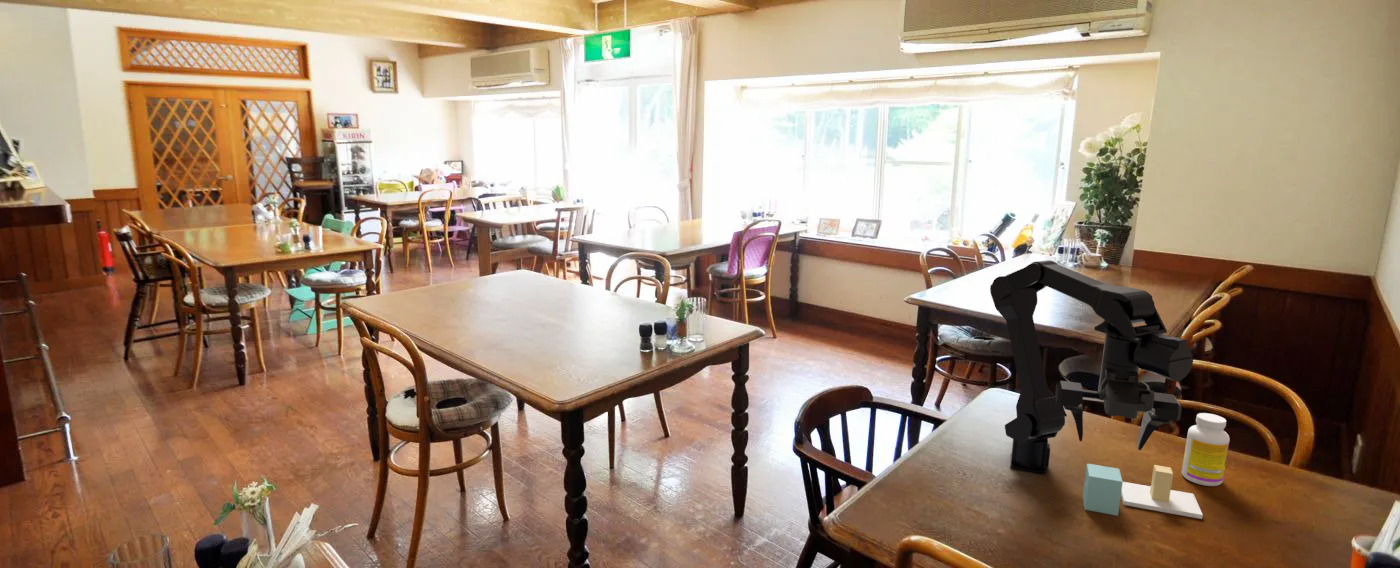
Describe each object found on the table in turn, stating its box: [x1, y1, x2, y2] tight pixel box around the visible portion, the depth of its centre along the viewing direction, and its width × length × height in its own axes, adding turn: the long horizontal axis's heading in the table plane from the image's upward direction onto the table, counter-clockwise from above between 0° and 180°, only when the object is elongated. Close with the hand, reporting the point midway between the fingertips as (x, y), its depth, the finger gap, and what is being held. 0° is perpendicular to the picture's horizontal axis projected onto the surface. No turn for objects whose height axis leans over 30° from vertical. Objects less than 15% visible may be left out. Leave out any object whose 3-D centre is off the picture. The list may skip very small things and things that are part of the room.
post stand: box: [1121, 464, 1204, 520], centre depth 131 cm, size 12×8×6 cm, turn 66°
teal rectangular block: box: [1082, 463, 1124, 517], centre depth 130 cm, size 5×5×7 cm
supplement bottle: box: [1181, 412, 1231, 487], centre depth 139 cm, size 7×7×13 cm
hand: (1109, 444), depth 128 cm, fingers open, 9 cm apart
